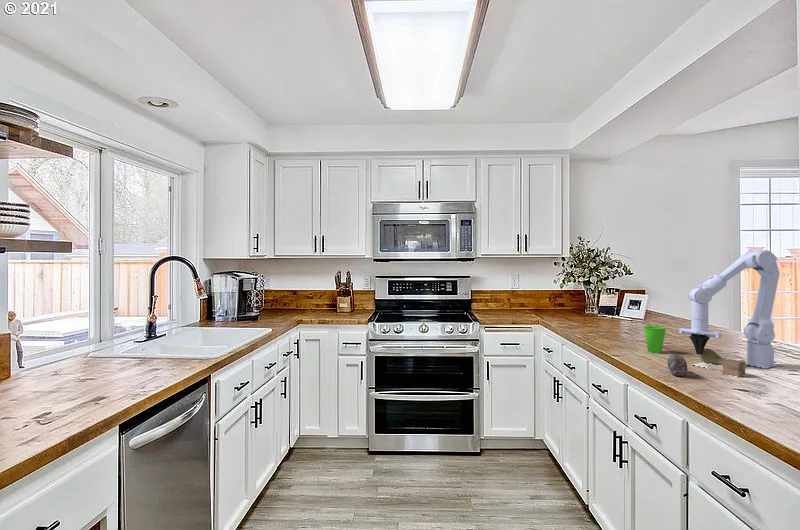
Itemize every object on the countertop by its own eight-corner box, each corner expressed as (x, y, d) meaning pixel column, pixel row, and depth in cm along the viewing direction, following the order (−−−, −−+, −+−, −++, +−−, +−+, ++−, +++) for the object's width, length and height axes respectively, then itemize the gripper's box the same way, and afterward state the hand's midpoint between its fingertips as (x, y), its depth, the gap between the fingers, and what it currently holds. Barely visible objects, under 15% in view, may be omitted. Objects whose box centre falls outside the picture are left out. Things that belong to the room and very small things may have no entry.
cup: (644, 353, 209) (644, 328, 209) (642, 349, 217) (642, 325, 217) (667, 355, 206) (668, 329, 205) (665, 351, 214) (665, 326, 214)
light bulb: (732, 362, 185) (705, 351, 194) (729, 353, 182) (702, 343, 191) (724, 372, 184) (697, 362, 192) (721, 364, 181) (694, 353, 190)
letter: (704, 362, 191) (704, 361, 191) (744, 369, 179) (744, 368, 179) (691, 365, 186) (691, 364, 186) (731, 372, 174) (731, 372, 174)
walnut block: (729, 372, 174) (729, 359, 174) (745, 375, 170) (745, 361, 170) (722, 374, 172) (722, 360, 171) (738, 377, 167) (738, 363, 167)
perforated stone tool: (664, 368, 181) (664, 350, 181) (680, 369, 179) (680, 351, 179) (671, 377, 167) (671, 357, 167) (688, 379, 165) (688, 358, 165)
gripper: (675, 317, 192) (675, 352, 192) (714, 322, 180) (714, 358, 180) (684, 316, 196) (684, 350, 196) (724, 320, 183) (723, 356, 184)
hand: (699, 354), depth 188 cm, fingers closed
